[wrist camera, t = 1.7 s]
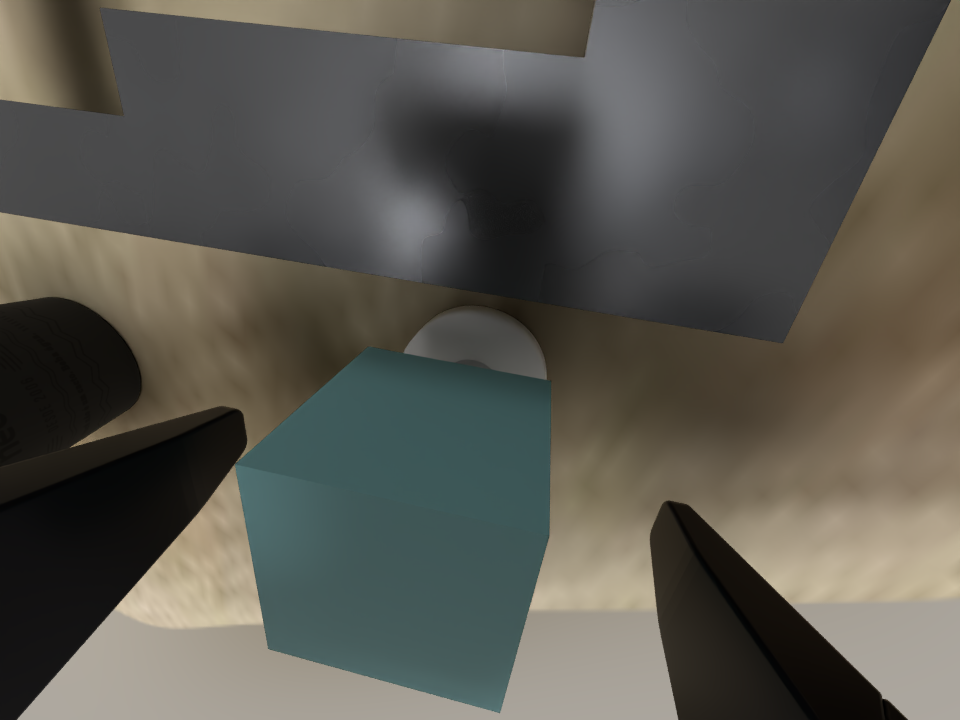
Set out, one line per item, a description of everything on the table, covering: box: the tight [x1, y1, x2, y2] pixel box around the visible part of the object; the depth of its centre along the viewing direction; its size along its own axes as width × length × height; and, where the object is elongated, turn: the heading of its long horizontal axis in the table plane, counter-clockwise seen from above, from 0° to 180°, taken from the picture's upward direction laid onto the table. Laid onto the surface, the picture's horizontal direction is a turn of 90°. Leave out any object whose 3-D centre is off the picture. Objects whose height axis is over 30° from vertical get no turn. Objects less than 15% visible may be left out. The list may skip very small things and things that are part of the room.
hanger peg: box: [235, 306, 551, 713], centre depth 9 cm, size 4×4×8 cm
